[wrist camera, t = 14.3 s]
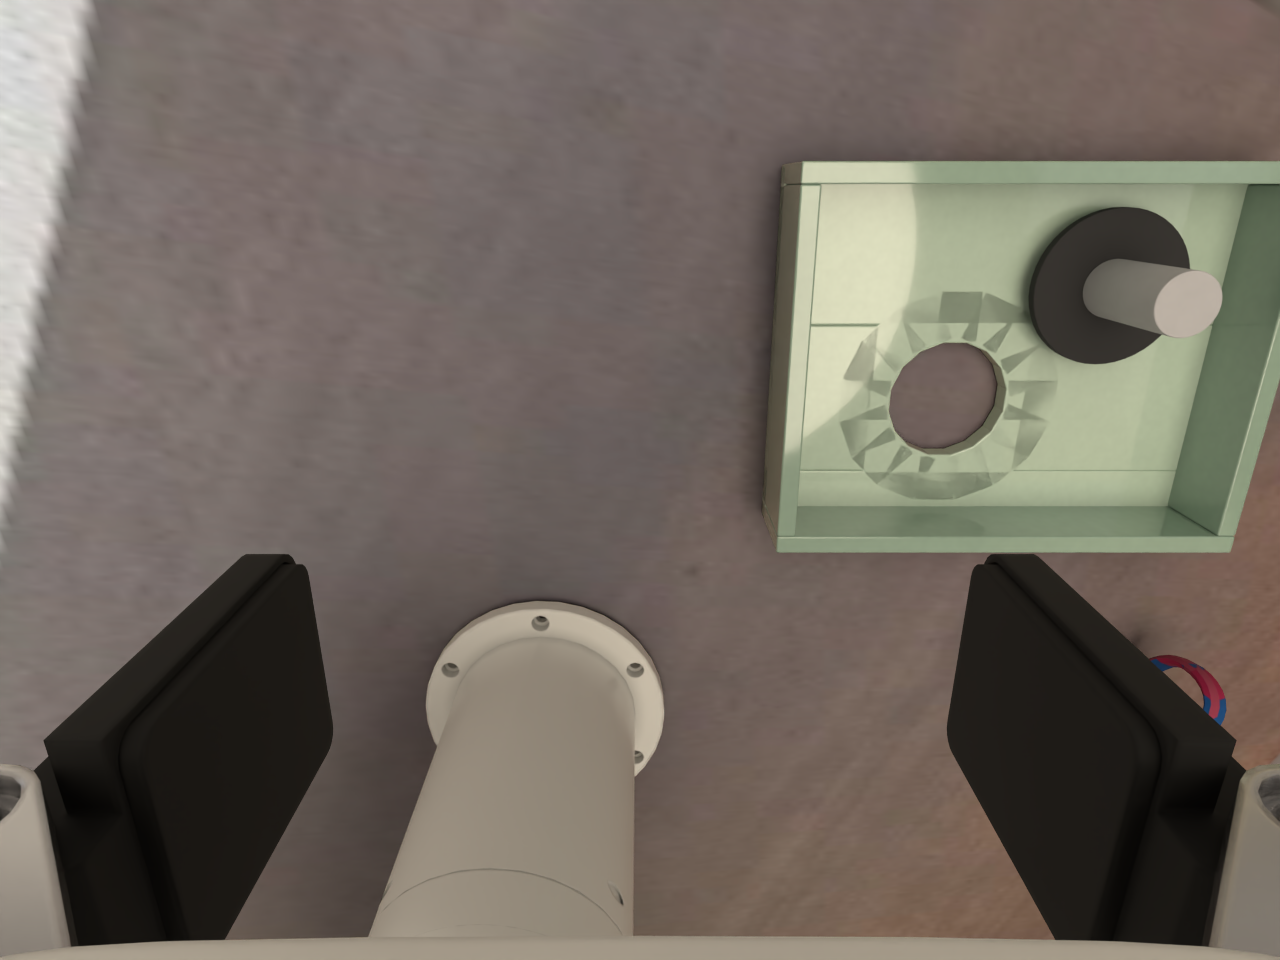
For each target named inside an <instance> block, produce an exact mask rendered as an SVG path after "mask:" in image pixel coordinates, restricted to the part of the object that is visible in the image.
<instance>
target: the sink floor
mask: <svg viewBox="0 0 1280 960" xmlns="http://www.w3.org/2000/svg"><path fill="white" fill-rule="evenodd" d="M784 170H785V166H783V167H782V171H783V173H782V175H781V178H782V179H781V187H784V186H785V185H787V184H785V183H784V179H785V171H784ZM820 185H821V186H822V187H821V200H820V213H819V227H818V240H817V253H816V267H815V280H814V293H813V307H812V320H811V333H810V347H809V360H808V373H807V387H806V400H805V413H804V427H803V440H802V453H801V467H800V480H799V493H798V506H1168V501H1169V497H1170V493H1171V489H1172V485H1173V481H1174V477H1175V473H1176V471H1175V470H1176V469H1177V465H1178V461H1179V457H1180V453H1181V449H1182V445H1183V441H1184V437H1185V433H1186V429H1187V425H1188V421H1189V417H1190V413H1191V409H1192V405H1193V401H1194V397H1195V393H1196V389H1197V385H1198V381H1199V377H1200V373H1201V369H1202V365H1203V361H1204V357H1205V353H1206V349H1207V345H1208V341H1209V337H1210V334H1211V330H1212V324H1213V322H1214V321H1213V322H1212V323H1211V324H1210V325H1209V326H1208V327H1207V328H1206V329H1204V330H1203V331H1202V332H1200V333H1198V334H1196V335H1194V336H1191V337H1187V338H1173V337H1169V336H1165V335H1161V336H1160V337H1159V338H1158V339H1157V340H1155V341H1154V342H1153V343H1152V344H1151V345H1149V346H1148V347H1146V348H1145V349H1144V350H1142V351H1140V352H1138V353H1137V354H1135V355H1133V356H1130V357H1128V358H1126V359H1123V360H1120V361H1116V362H1112V363H1107V364H1084V363H1080V362H1076V361H1073V360H1070V359H1067V358H1065V357H1063V356H1061V355H1059V354H1057V353H1055V352H1054V351H1053V350H1051V349H1050V348H1049V347H1048V346H1047V345H1046V344H1045V343H1044V342H1043V341H1042V340H1041V338H1040V337H1039V335H1038V334H1037V332H1036V330H1035V328H1034V326H1033V323H1032V320H1031V317H1030V311H1029V288H1030V283H1031V279H1032V275H1033V273H1034V270H1035V267H1036V265H1037V263H1038V261H1039V259H1040V257H1041V256H1042V254H1043V252H1044V251H1045V249H1046V248H1047V247H1048V245H1049V244H1050V243H1051V242H1052V240H1053V239H1054V238H1055V237H1056V236H1057V235H1058V234H1059V233H1060V232H1061V231H1062V230H1064V229H1065V228H1066V227H1068V226H1069V225H1070V224H1071V223H1073V222H1075V221H1076V220H1078V219H1080V218H1081V217H1083V216H1086V215H1088V214H1090V213H1092V212H1095V211H1098V210H1102V209H1107V208H1112V207H1134V208H1141V209H1145V210H1149V211H1151V212H1154V213H1157V214H1158V215H1160V216H1162V217H1163V218H1165V219H1166V220H1167V221H1169V222H1170V223H1171V224H1172V225H1173V226H1174V227H1175V228H1176V230H1177V231H1178V232H1179V234H1180V235H1181V237H1182V239H1183V240H1184V243H1185V245H1186V248H1187V251H1188V255H1189V261H1190V269H1193V270H1200V271H1205V272H1207V273H1209V274H1211V275H1212V276H1214V277H1215V278H1216V280H1217V281H1218V282H1219V284H1220V286H1221V289H1222V286H1223V282H1224V278H1225V274H1226V270H1227V266H1228V262H1229V258H1230V254H1231V250H1232V246H1233V242H1234V238H1235V234H1236V230H1237V226H1238V222H1239V218H1240V214H1241V210H1242V206H1243V202H1244V198H1245V194H1246V190H1247V187H1248V185H1250V184H820ZM782 189H783V188H782ZM781 192H783V190H782V191H781ZM783 194H784V193H783ZM783 194H782V195H783ZM780 196H781V194H780ZM782 197H783V196H782ZM782 197H780V199H781V198H782ZM781 200H782V201H783V198H782V199H781ZM781 204H782V203H781ZM781 204H780V205H781ZM780 210H781V209H780ZM781 212H782V210H781ZM781 216H782V215H781ZM779 221H780V219H779ZM780 223H781V222H780ZM778 230H779V228H778ZM779 234H780V233H779V232H778V235H779ZM779 238H780V237H779ZM780 239H781V238H780ZM778 242H779V241H778ZM778 245H780V244H778ZM778 248H780V247H778ZM778 248H777V249H778ZM779 250H780V249H779ZM779 253H780V252H779ZM778 260H779V259H778ZM776 264H777V263H776ZM776 267H777V266H776ZM776 271H777V270H776ZM776 279H777V278H776ZM775 281H776V280H775ZM776 282H778V281H776ZM775 290H776V289H775ZM775 292H776V291H775ZM775 294H777V293H775ZM775 296H776V295H775ZM776 299H777V298H776ZM942 343H967V344H970V345H972V346H974V347H977V348H979V349H980V350H981V351H982V353H983V354H984V355H985V356H986V357H987V358H988V360H989V361H990V362H991V363H992V364H993V368H994V372H995V376H996V380H997V384H998V385H997V392H996V398H995V404H994V407H993V409H992V410H991V412H990V414H989V416H988V417H987V419H986V421H985V422H984V424H983V426H982V427H980V428H979V429H978V430H977V431H976V432H974V433H973V434H972V435H971V436H970V437H968V438H967V439H966V440H965V441H963V442H960V443H957V444H954V445H952V446H949V447H946V448H944V449H922V448H920V447H917V446H915V445H913V444H910V443H908V442H905V441H904V440H903V439H902V438H901V437H900V436H899V435H898V434H897V433H896V432H895V430H894V427H893V423H892V420H891V417H890V414H889V404H890V395H891V389H892V387H893V385H894V383H895V381H896V379H897V377H898V376H899V374H900V372H901V370H902V368H903V367H904V366H905V365H906V364H907V363H908V362H910V361H911V360H912V359H913V358H914V357H915V356H916V355H917V354H919V353H920V352H921V351H924V350H927V349H929V348H932V347H934V346H937V345H939V344H942ZM766 476H767V475H766ZM766 476H765V477H766ZM766 478H767V477H766ZM766 480H767V479H766ZM766 480H765V481H766ZM763 485H764V484H763ZM765 485H766V483H765ZM765 488H766V486H765ZM765 488H764V489H765ZM765 490H766V489H765ZM763 491H764V490H763ZM764 492H765V493H764V494H766V491H764ZM765 497H766V496H765ZM762 502H763V504H764V508H765V507H766V505H765V501H764V500H762ZM762 507H763V506H762ZM764 510H765V509H764Z"/></svg>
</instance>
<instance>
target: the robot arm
mask: <svg viewBox="0 0 1280 960" xmlns="http://www.w3.org/2000/svg"><path fill="white" fill-rule="evenodd" d="M539 616H543V617H545V618H540V617H539ZM634 663H637V664H634ZM426 712H427V721H428V725H429V728H430V731H431V734H432V737H433V740H434V742H435V744H436V745H437V748H436V751H435V754H434V757H433V759H432V762H431V765H430V768H429V770H428V773H427V776H426V779H425V781H424V784H423V787H422V790H421V792H420V795H419V798H418V801H417V803H416V806H415V809H414V812H413V814H412V817H411V820H410V823H409V825H408V828H407V831H406V834H405V836H404V839H403V842H402V845H401V847H400V850H399V853H398V856H397V858H396V861H395V864H394V867H393V869H392V872H391V875H390V877H389V880H388V883H387V886H386V888H385V891H384V894H383V897H382V899H381V902H380V905H379V908H378V911H377V914H376V917H375V920H374V922H373V925H372V928H371V931H370V933H369V936H368V937H353V938H303V939H252V940H225V938H226V936H227V934H228V933H229V931H230V929H231V927H232V925H233V923H234V922H235V920H236V918H237V916H238V914H239V913H240V911H241V909H242V907H243V905H244V904H245V902H246V900H247V898H248V896H249V895H250V893H251V891H252V889H253V887H254V885H255V884H256V882H257V880H258V878H259V876H260V875H261V873H262V871H263V869H264V867H265V866H266V864H267V862H268V860H269V858H270V857H271V855H272V853H273V851H274V849H275V847H276V846H277V844H278V842H279V840H280V838H281V837H282V835H283V833H284V831H285V829H286V828H287V826H288V824H289V822H290V820H291V819H292V817H293V815H294V813H295V811H296V809H297V808H298V806H299V804H300V802H301V800H302V799H303V797H304V795H305V793H306V791H307V790H308V788H309V786H310V784H311V782H312V781H313V779H314V777H315V775H316V773H317V771H318V770H319V768H320V766H321V764H322V762H323V761H324V759H325V757H326V755H327V753H328V751H329V749H330V746H331V742H332V736H333V722H332V716H331V709H330V703H329V697H328V691H327V685H326V679H325V673H324V667H323V660H322V654H321V648H320V642H319V636H318V630H317V624H316V618H315V611H314V605H313V599H312V593H311V587H310V581H309V575H308V571H307V569H306V567H305V566H304V565H302V564H296V563H295V561H294V560H293V558H292V557H291V556H290V555H289V554H246V555H244V556H242V557H241V558H240V559H239V560H238V561H237V562H236V563H234V564H233V565H232V566H231V567H230V568H229V569H228V570H227V571H226V572H225V573H224V574H223V575H221V576H220V577H219V578H218V579H217V580H216V581H215V582H214V583H213V584H212V585H211V586H210V587H209V588H207V589H206V590H205V591H204V592H203V593H202V594H201V595H200V596H199V597H198V598H197V599H196V600H194V601H193V602H192V603H191V604H190V605H189V606H188V607H187V608H186V609H185V610H184V611H183V612H182V613H180V614H179V615H178V616H177V617H176V618H175V619H174V620H173V621H172V622H171V623H170V624H169V625H168V626H166V627H165V628H164V629H163V630H162V631H161V632H160V633H159V634H158V635H157V636H156V637H155V638H153V639H152V640H151V641H150V642H149V643H148V644H147V645H146V646H145V647H144V648H143V649H142V650H141V651H139V652H138V653H137V654H136V655H135V656H134V657H133V658H132V659H131V660H130V661H129V662H128V663H126V664H125V665H124V666H123V667H122V668H121V669H120V670H119V671H118V672H117V673H116V674H115V675H114V676H112V677H111V678H110V679H109V680H108V681H107V682H106V683H105V684H104V685H103V686H102V687H101V688H99V689H98V690H97V691H96V692H95V693H94V694H93V695H92V696H91V697H90V698H89V699H88V700H87V701H85V702H84V703H83V704H82V705H81V706H80V707H79V708H78V709H77V710H76V711H75V712H74V713H73V714H71V715H70V716H69V717H68V718H67V719H66V720H65V721H64V722H63V723H62V724H61V725H60V726H58V727H57V728H56V729H55V730H54V731H53V732H52V733H51V734H50V735H49V736H48V737H47V738H46V739H44V743H45V747H46V750H47V753H48V757H47V758H46V759H45V760H44V761H43V762H42V763H41V764H40V765H39V766H38V767H37V768H36V769H35V770H34V771H33V770H30V769H28V768H25V767H23V766H21V765H7V764H0V960H1280V764H1273V765H1259V766H1257V767H1255V768H1252V769H1250V770H1247V771H1246V770H1245V769H1244V768H1243V767H1242V766H1241V765H1240V764H1239V763H1238V762H1237V761H1236V760H1235V759H1234V758H1233V757H1232V753H1233V750H1234V747H1235V743H1236V739H1234V738H1233V737H1232V736H1231V735H1230V734H1229V733H1228V732H1227V731H1226V730H1225V729H1224V728H1223V727H1222V726H1220V725H1219V724H1218V723H1217V722H1216V721H1215V720H1214V719H1213V718H1212V717H1211V716H1210V715H1209V714H1207V713H1206V712H1205V711H1204V710H1203V709H1202V708H1201V707H1200V706H1199V705H1198V704H1197V703H1196V702H1195V701H1193V700H1192V699H1191V698H1190V697H1189V696H1188V695H1187V694H1186V693H1185V692H1184V691H1183V690H1182V689H1181V688H1179V687H1178V686H1177V685H1176V684H1175V683H1174V682H1173V681H1172V680H1171V679H1170V678H1169V677H1168V676H1166V675H1165V674H1164V673H1163V672H1162V671H1161V670H1160V669H1159V668H1158V667H1157V666H1156V665H1155V664H1154V663H1152V662H1151V661H1150V660H1149V659H1148V658H1147V657H1146V656H1145V655H1144V654H1143V653H1142V652H1141V651H1139V650H1138V649H1137V648H1136V647H1135V646H1134V645H1133V644H1132V643H1131V642H1130V641H1129V640H1128V639H1127V638H1125V637H1124V636H1123V635H1122V634H1121V633H1120V632H1119V631H1118V630H1117V629H1116V628H1115V627H1114V626H1112V625H1111V624H1110V623H1109V622H1108V621H1107V620H1106V619H1105V618H1104V617H1103V616H1102V615H1101V614H1100V613H1098V612H1097V611H1096V610H1095V609H1094V608H1093V607H1092V606H1091V605H1090V604H1089V603H1088V602H1087V601H1086V600H1084V599H1083V598H1082V597H1081V596H1080V595H1079V594H1078V593H1077V592H1076V591H1075V590H1074V589H1073V588H1071V587H1070V586H1069V585H1068V584H1067V583H1066V582H1065V581H1064V580H1063V579H1062V578H1061V577H1060V576H1059V575H1057V574H1056V573H1055V572H1054V571H1053V570H1052V569H1051V568H1050V567H1049V566H1048V565H1047V564H1046V563H1044V562H1043V561H1042V560H1041V559H1040V558H1039V557H1038V556H1036V555H1034V554H991V555H990V556H989V557H988V558H987V560H986V561H985V563H984V564H978V565H976V566H975V567H974V569H973V571H972V575H971V581H970V587H969V593H968V599H967V605H966V611H965V618H964V624H963V630H962V636H961V642H960V648H959V654H958V660H957V667H956V673H955V679H954V685H953V691H952V697H951V703H950V709H949V716H948V722H947V736H948V742H949V746H950V749H951V751H952V753H953V755H954V757H955V759H956V761H957V762H958V764H959V766H960V768H961V770H962V771H963V773H964V775H965V777H966V779H967V781H968V782H969V784H970V786H971V788H972V790H973V791H974V793H975V795H976V797H977V799H978V800H979V802H980V804H981V806H982V808H983V809H984V811H985V813H986V815H987V817H988V819H989V820H990V822H991V824H992V826H993V828H994V829H995V831H996V833H997V835H998V837H999V838H1000V840H1001V842H1002V844H1003V846H1004V847H1005V849H1006V851H1007V853H1008V855H1009V857H1010V858H1011V860H1012V862H1013V864H1014V866H1015V867H1016V869H1017V871H1018V873H1019V875H1020V876H1021V878H1022V880H1023V882H1024V884H1025V885H1026V887H1027V889H1028V891H1029V893H1030V895H1031V896H1032V898H1033V900H1034V902H1035V904H1036V905H1037V907H1038V909H1039V911H1040V913H1041V914H1042V916H1043V918H1044V920H1045V922H1046V923H1047V925H1048V927H1049V929H1050V931H1051V933H1052V934H1053V936H1054V938H1055V940H1028V939H977V938H927V937H772V936H633V886H634V779H635V776H636V775H637V774H638V773H639V772H640V771H641V770H642V769H643V768H644V767H645V766H646V764H647V763H648V761H649V759H650V758H651V756H652V755H653V753H654V752H655V750H656V747H657V745H658V742H659V739H660V736H661V734H662V729H663V721H664V695H663V690H662V685H661V681H660V676H659V674H658V672H657V670H656V668H655V665H654V663H653V661H652V659H651V657H650V656H649V655H648V653H647V652H646V651H645V649H644V648H643V646H642V645H641V644H640V642H639V641H638V640H637V639H635V638H634V637H633V636H632V635H631V634H630V633H629V632H628V631H627V630H626V629H624V628H623V627H622V626H620V625H619V624H617V623H615V622H614V621H612V620H611V619H609V618H607V617H606V616H604V615H602V614H599V613H597V612H594V611H592V610H589V609H587V608H584V607H581V606H576V605H572V604H567V603H562V602H549V601H532V602H524V603H516V604H511V605H508V606H505V607H501V608H498V609H495V610H492V611H490V612H488V613H486V614H484V615H482V616H480V617H478V618H476V619H475V620H473V621H471V622H470V623H469V624H468V625H466V626H465V627H464V628H463V629H461V630H460V631H459V632H458V633H456V634H455V636H454V637H453V638H452V639H451V640H450V642H449V643H448V644H447V645H446V647H445V648H444V649H443V651H442V653H441V655H440V657H439V659H438V661H437V663H436V665H435V667H434V669H433V672H432V675H431V678H430V681H429V683H428V688H427V696H426Z"/></svg>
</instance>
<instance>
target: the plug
mask: <svg viewBox="0 0 1280 960" xmlns="http://www.w3.org/2000/svg"><path fill="white" fill-rule="evenodd" d="M1221 304H1222V289H1221V286H1220V284H1219V282H1218V281H1217V280H1216V278H1215V277H1214V276H1212V275H1211V274H1209V273H1207V272H1205V271H1200V270H1193V269H1190V261H1189V255H1188V251H1187V248H1186V245H1185V243H1184V240H1183V239H1182V237H1181V235H1180V234H1179V232H1178V231H1177V230H1176V228H1175V227H1174V226H1173V225H1172V224H1171V223H1170V222H1169V221H1167V220H1166V219H1165V218H1163V217H1162V216H1160V215H1158V214H1157V213H1154V212H1151V211H1149V210H1145V209H1141V208H1134V207H1112V208H1107V209H1102V210H1098V211H1095V212H1092V213H1090V214H1088V215H1086V216H1083V217H1081V218H1080V219H1078V220H1076V221H1075V222H1073V223H1071V224H1070V225H1069V226H1068V227H1066V228H1065V229H1064V230H1062V231H1061V232H1060V233H1059V234H1058V235H1057V236H1056V237H1055V238H1054V239H1053V240H1052V242H1051V243H1050V244H1049V245H1048V247H1047V248H1046V249H1045V251H1044V252H1043V254H1042V256H1041V257H1040V259H1039V261H1038V263H1037V265H1036V267H1035V270H1034V273H1033V275H1032V279H1031V283H1030V288H1029V311H1030V317H1031V320H1032V323H1033V326H1034V328H1035V330H1036V332H1037V334H1038V335H1039V337H1040V338H1041V340H1042V341H1043V342H1044V343H1045V344H1046V345H1047V346H1048V347H1049V348H1050V349H1051V350H1053V351H1054V352H1055V353H1057V354H1059V355H1061V356H1063V357H1065V358H1067V359H1070V360H1073V361H1076V362H1080V363H1084V364H1107V363H1112V362H1116V361H1120V360H1123V359H1126V358H1128V357H1130V356H1133V355H1135V354H1137V353H1138V352H1140V351H1142V350H1144V349H1145V348H1146V347H1148V346H1149V345H1151V344H1152V343H1153V342H1154V341H1155V340H1157V339H1158V338H1159V337H1160V336H1161V335H1165V336H1169V337H1173V338H1187V337H1191V336H1194V335H1196V334H1198V333H1200V332H1202V331H1203V330H1204V329H1206V328H1207V327H1208V326H1209V325H1210V324H1211V323H1212V322H1213V321H1214V319H1215V318H1216V316H1217V315H1218V313H1219V310H1220V308H1221Z"/></svg>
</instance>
